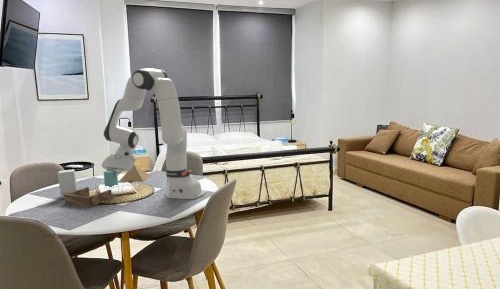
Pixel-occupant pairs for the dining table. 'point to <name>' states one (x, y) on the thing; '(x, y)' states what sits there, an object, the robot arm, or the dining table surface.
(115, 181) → the teal block
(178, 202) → the dining table surface
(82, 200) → the walnut crate
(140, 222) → the dining table surface
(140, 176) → the model pyramid
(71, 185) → the skincare box
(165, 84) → the robot arm
